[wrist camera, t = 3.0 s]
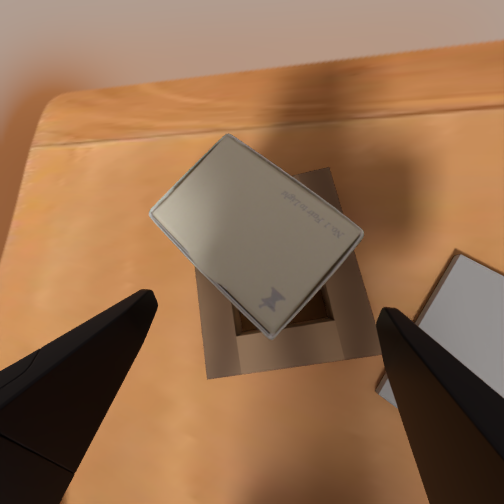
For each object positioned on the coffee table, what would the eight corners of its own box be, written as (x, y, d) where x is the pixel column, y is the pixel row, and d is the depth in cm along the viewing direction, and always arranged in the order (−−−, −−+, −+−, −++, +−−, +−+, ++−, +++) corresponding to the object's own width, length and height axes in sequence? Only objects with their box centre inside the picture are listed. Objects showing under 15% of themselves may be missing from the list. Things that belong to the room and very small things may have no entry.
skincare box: (317, 276, 18) (381, 234, 6) (281, 316, 18) (275, 351, 6) (262, 229, 19) (229, 123, 8) (229, 265, 19) (141, 212, 7)
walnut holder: (217, 368, 17) (207, 379, 15) (199, 212, 21) (187, 200, 18) (369, 346, 16) (384, 354, 14) (323, 183, 19) (329, 166, 17)
